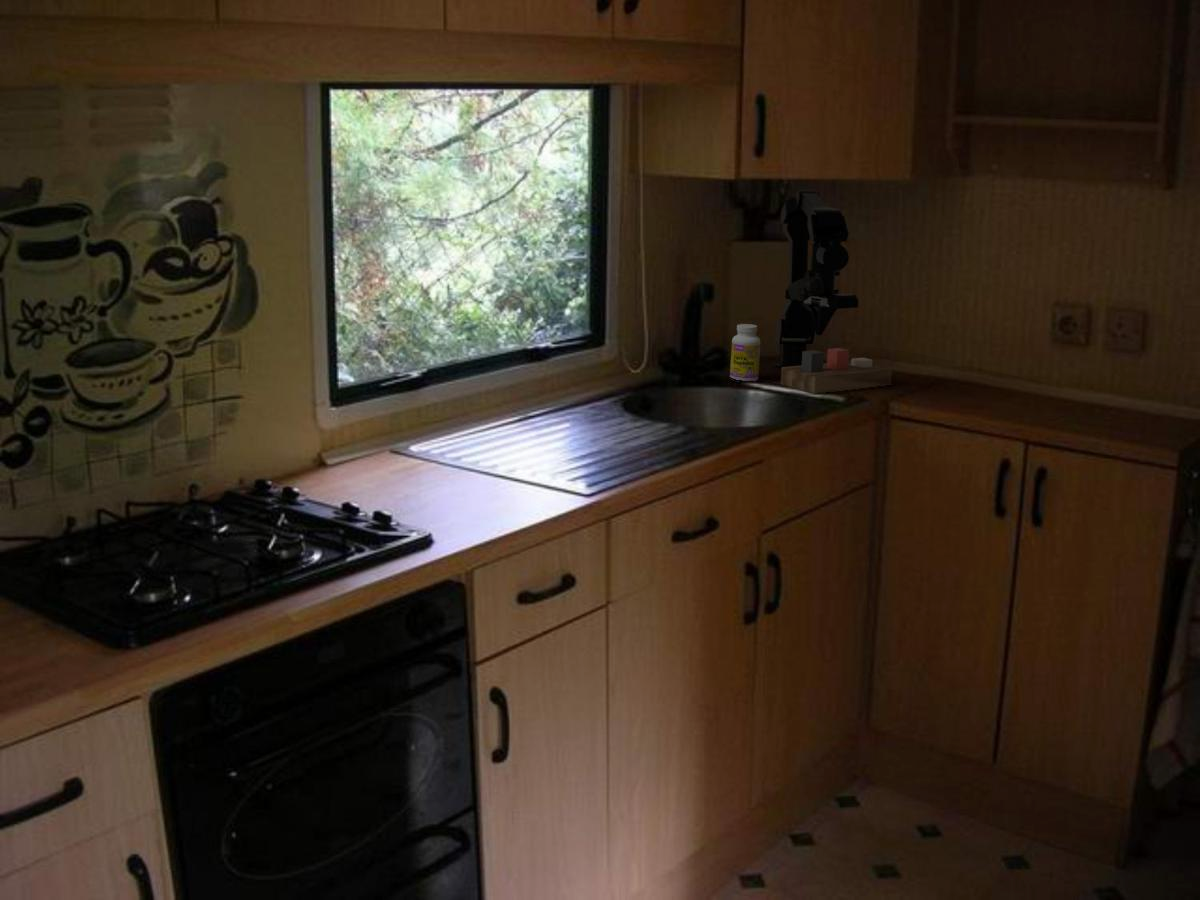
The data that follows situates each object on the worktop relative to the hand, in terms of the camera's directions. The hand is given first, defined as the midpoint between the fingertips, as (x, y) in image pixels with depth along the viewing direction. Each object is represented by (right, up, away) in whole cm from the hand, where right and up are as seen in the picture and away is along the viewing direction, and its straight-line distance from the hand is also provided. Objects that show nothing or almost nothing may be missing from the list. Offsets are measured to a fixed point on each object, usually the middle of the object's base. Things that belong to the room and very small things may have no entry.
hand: (819, 334), depth 310 cm
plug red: (+5, -8, +6) cm, 11 cm away
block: (+5, -11, +6) cm, 14 cm away
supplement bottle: (-16, -10, +10) cm, 21 cm away
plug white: (+11, -10, +10) cm, 18 cm away
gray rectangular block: (-1, -9, +2) cm, 9 cm away
